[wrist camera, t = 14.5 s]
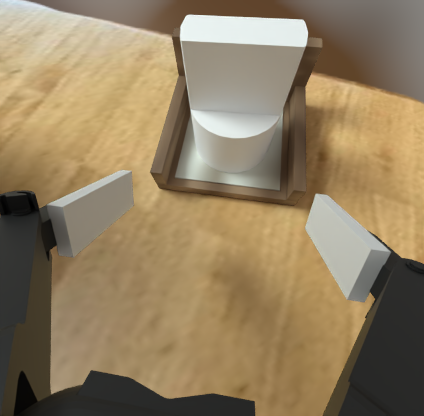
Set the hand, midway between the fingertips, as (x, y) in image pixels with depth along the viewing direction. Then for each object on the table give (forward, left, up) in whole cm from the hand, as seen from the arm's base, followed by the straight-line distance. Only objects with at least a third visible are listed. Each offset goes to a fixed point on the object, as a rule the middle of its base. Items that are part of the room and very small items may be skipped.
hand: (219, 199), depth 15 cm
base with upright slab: (0, +11, -8) cm, 14 cm away
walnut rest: (0, +12, -9) cm, 15 cm away
